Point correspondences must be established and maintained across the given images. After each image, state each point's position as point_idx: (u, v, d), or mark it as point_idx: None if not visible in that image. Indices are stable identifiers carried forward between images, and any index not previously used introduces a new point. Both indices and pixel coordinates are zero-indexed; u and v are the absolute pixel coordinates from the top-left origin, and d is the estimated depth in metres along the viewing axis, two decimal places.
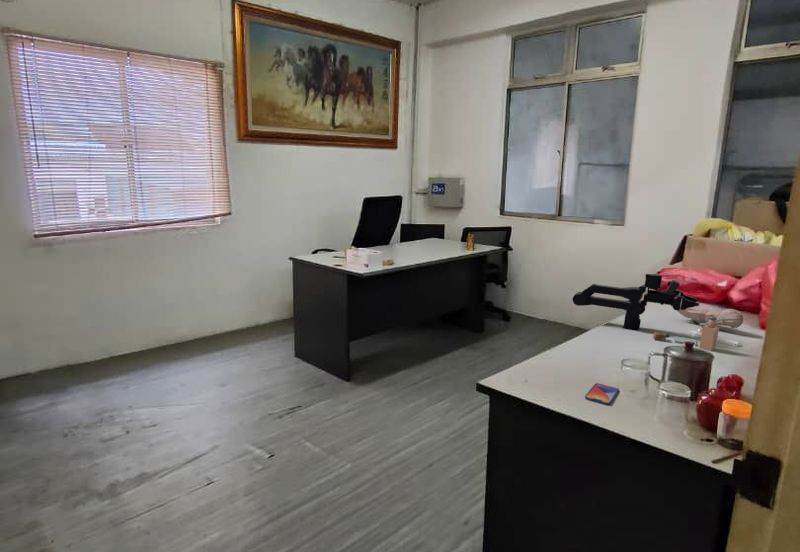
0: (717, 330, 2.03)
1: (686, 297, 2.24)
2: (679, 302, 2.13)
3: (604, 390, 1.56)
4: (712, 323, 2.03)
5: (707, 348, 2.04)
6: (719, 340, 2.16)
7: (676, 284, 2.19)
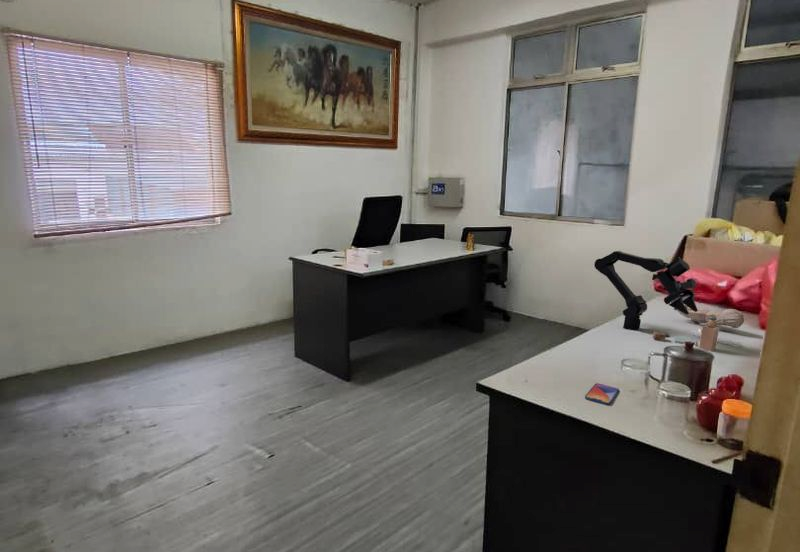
0: (717, 330, 2.03)
1: (691, 301, 2.14)
2: (672, 299, 2.07)
3: (604, 390, 1.56)
4: (712, 323, 2.03)
5: (707, 348, 2.04)
6: (720, 340, 2.16)
7: (690, 285, 2.08)
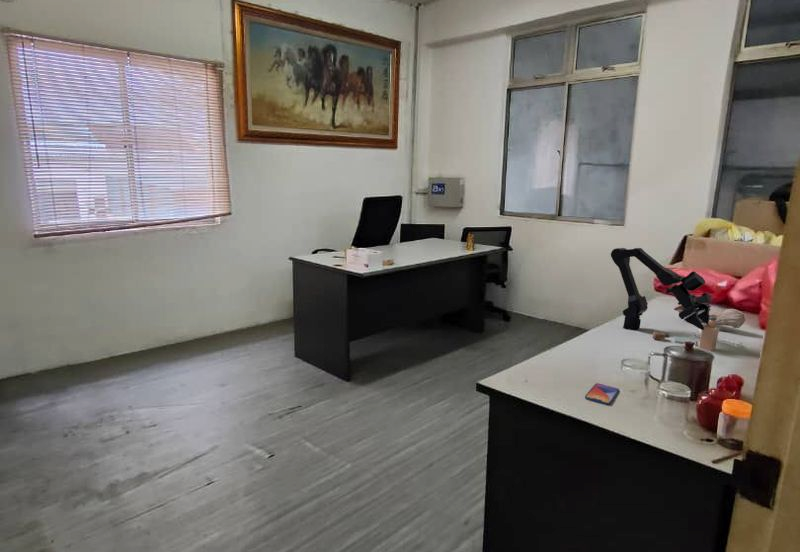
0: (717, 330, 2.03)
1: (706, 316, 2.10)
2: (687, 314, 2.03)
3: (604, 390, 1.56)
4: (712, 323, 2.03)
5: (707, 348, 2.04)
6: (721, 340, 2.16)
7: (705, 300, 2.03)
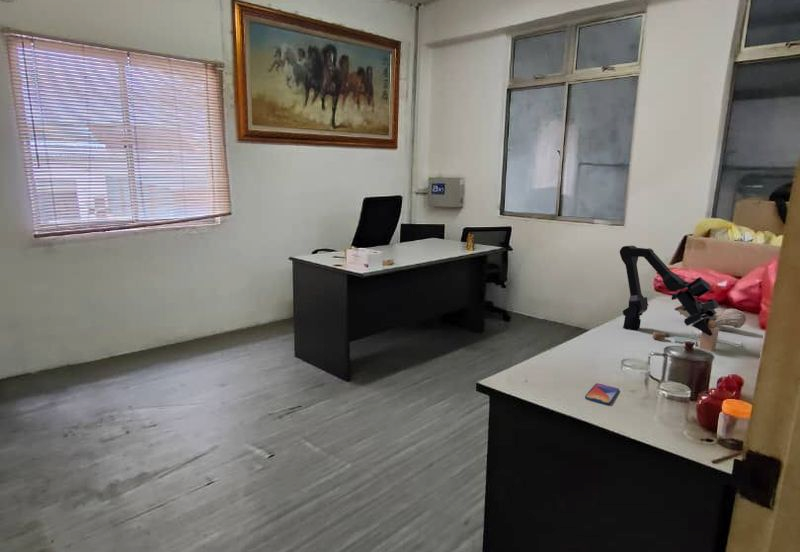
0: (717, 330, 2.03)
1: None
2: (693, 320, 2.01)
3: (604, 390, 1.56)
4: (712, 323, 2.03)
5: (707, 348, 2.04)
6: (722, 340, 2.16)
7: (711, 306, 2.02)
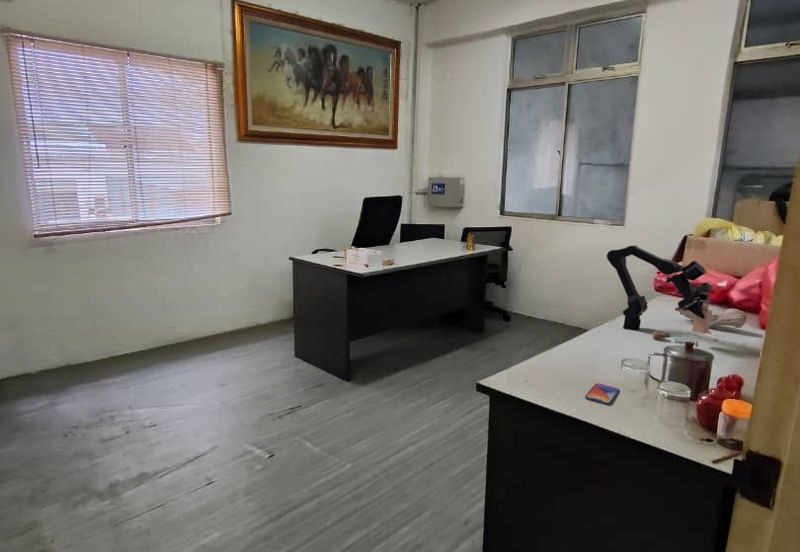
0: (710, 313, 2.05)
1: None
2: (686, 303, 2.03)
3: (604, 390, 1.56)
4: (705, 306, 2.05)
5: (700, 331, 2.06)
6: (723, 340, 2.16)
7: (705, 289, 2.04)
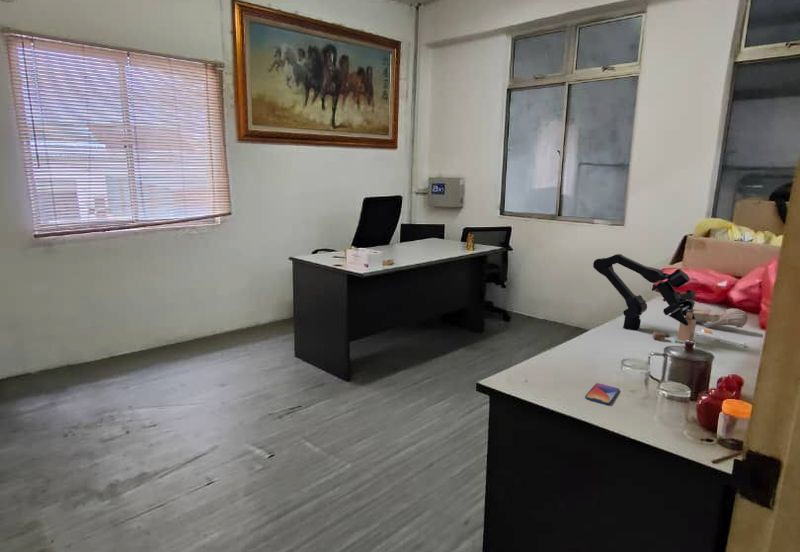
0: (694, 322, 2.11)
1: None
2: (671, 310, 2.09)
3: (604, 390, 1.56)
4: (689, 315, 2.11)
5: (685, 339, 2.12)
6: (725, 341, 2.16)
7: (689, 296, 2.09)
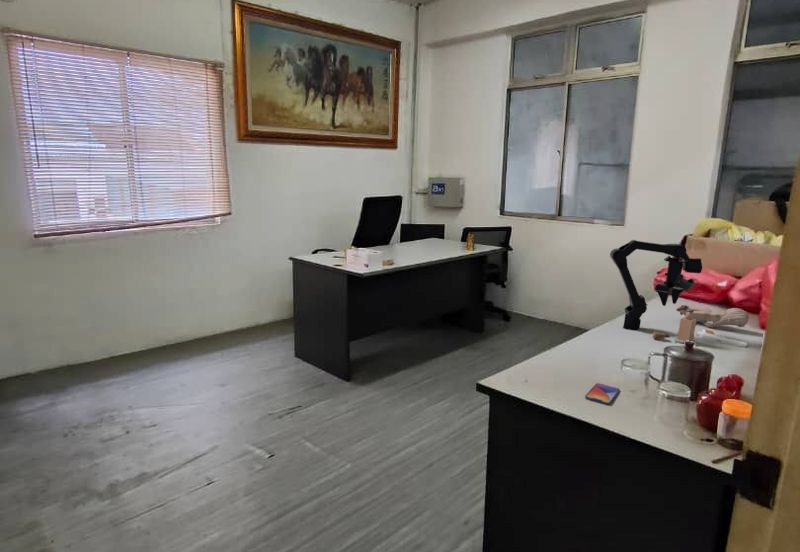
0: (694, 322, 2.11)
1: (677, 294, 2.28)
2: (662, 290, 2.19)
3: (605, 390, 1.56)
4: (689, 315, 2.11)
5: (685, 339, 2.12)
6: (727, 341, 2.15)
7: (686, 287, 2.17)
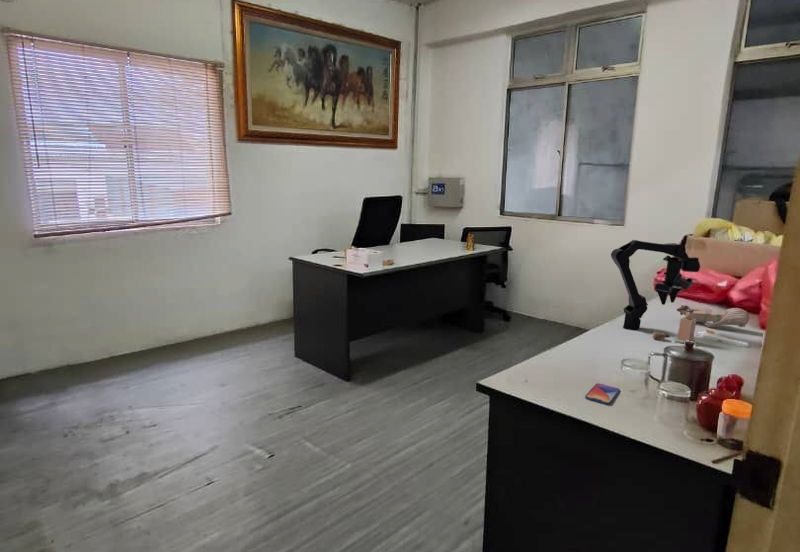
0: (694, 322, 2.11)
1: (675, 293, 2.30)
2: (662, 289, 2.21)
3: (605, 390, 1.56)
4: (689, 315, 2.11)
5: (685, 339, 2.12)
6: (728, 341, 2.15)
7: (685, 286, 2.20)
